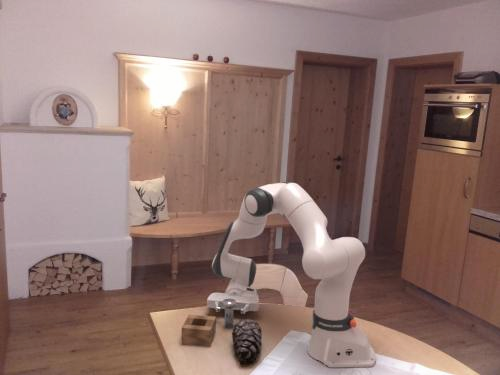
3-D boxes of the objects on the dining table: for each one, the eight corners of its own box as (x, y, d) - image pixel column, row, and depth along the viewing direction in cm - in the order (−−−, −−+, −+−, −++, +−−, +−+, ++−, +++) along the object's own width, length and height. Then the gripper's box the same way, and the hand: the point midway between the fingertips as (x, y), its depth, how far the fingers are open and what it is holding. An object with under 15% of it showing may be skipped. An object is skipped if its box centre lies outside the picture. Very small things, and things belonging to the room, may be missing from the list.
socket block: (215, 332, 162) (215, 316, 161) (210, 346, 153) (210, 330, 152) (188, 329, 163) (188, 314, 162) (181, 344, 154) (181, 327, 153)
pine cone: (236, 370, 140) (236, 340, 138) (229, 340, 157) (230, 314, 155) (268, 367, 141) (270, 338, 140) (258, 339, 159) (259, 312, 157)
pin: (236, 323, 169) (236, 299, 167) (234, 330, 164) (234, 304, 162) (223, 322, 169) (224, 298, 168) (221, 329, 165) (221, 303, 163)
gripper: (210, 286, 182) (203, 301, 168) (260, 290, 179) (257, 305, 166) (210, 301, 183) (202, 316, 169) (260, 305, 181) (256, 320, 167)
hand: (230, 311), depth 168 cm, fingers open, 8 cm apart
